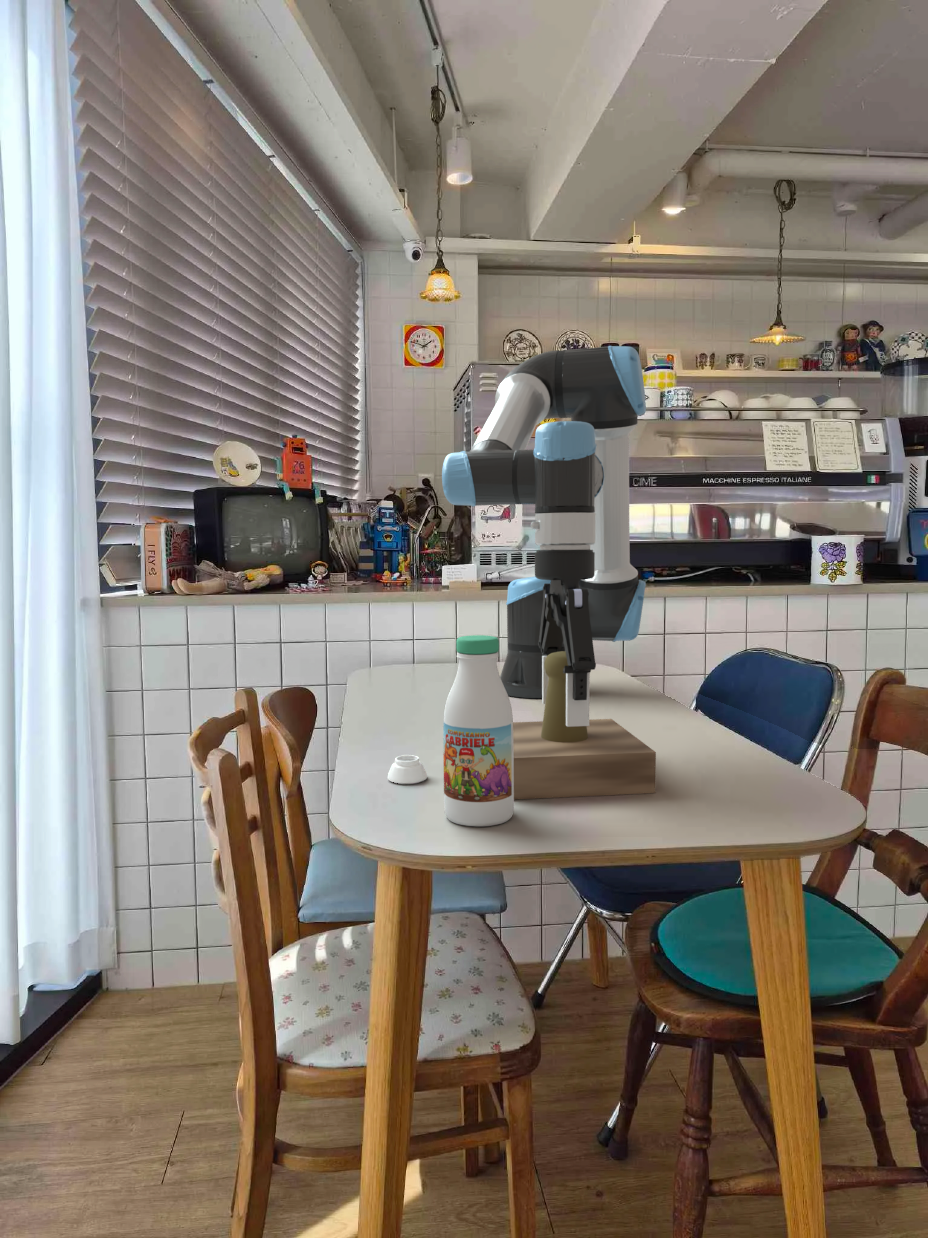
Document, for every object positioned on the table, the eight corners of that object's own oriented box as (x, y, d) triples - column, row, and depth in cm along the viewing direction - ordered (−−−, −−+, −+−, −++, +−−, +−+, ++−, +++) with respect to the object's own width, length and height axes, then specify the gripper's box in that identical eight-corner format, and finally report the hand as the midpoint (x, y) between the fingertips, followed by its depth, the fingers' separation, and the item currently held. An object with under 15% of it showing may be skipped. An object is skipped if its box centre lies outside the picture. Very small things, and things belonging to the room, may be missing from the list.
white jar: (388, 775, 106) (387, 787, 101) (387, 753, 105) (387, 764, 100) (426, 774, 106) (427, 786, 101) (425, 752, 106) (427, 763, 101)
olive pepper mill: (586, 743, 101) (587, 656, 100) (538, 741, 102) (538, 655, 101) (589, 731, 107) (589, 649, 105) (543, 730, 108) (543, 648, 107)
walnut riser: (485, 758, 113) (485, 723, 112) (611, 753, 115) (611, 718, 114) (507, 800, 95) (506, 758, 94) (655, 792, 97) (655, 752, 96)
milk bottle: (448, 804, 94) (446, 632, 92) (515, 805, 93) (514, 632, 91) (439, 827, 86) (437, 641, 84) (512, 829, 85) (511, 641, 83)
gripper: (517, 547, 114) (518, 695, 116) (558, 549, 89) (557, 738, 91) (569, 546, 114) (569, 694, 117) (624, 548, 90) (622, 735, 92)
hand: (564, 713), depth 104 cm, fingers open, 13 cm apart
